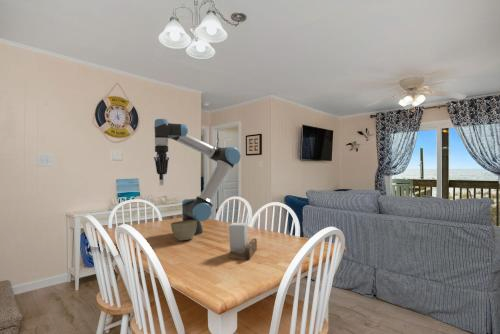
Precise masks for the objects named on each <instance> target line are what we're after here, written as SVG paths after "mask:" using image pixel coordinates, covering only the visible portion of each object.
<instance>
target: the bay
mask: <svg viewBox="0 0 500 334" xmlns="http://www.w3.org/2000/svg"><path fill="white" fill-rule="evenodd" d="M257 241H258V240H257V238H251V240H250V241H248V245H247V246H246V247H245V252H235V251H230V250H229V254H228V255H229V256H228V257H229V260H243V261H249V260H251V258H252V257H253V255H254V254H255V253H256V252H257V247H258V246H257Z"/></svg>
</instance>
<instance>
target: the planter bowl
mask: <svg viewBox="0 0 500 334" xmlns="http://www.w3.org/2000/svg"><path fill="white" fill-rule="evenodd" d="M170 228H171V231H172V234H173V235H174V236H175V238H176V239H177V241H180V242H181V241H188V240H191V239H194V236H195V235H194V234H195V232H196V228H197V220H186V221H183V220H180V221H174V222H172V223H170Z"/></svg>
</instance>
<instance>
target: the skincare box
mask: <svg viewBox="0 0 500 334" xmlns="http://www.w3.org/2000/svg"><path fill="white" fill-rule="evenodd" d="M228 230H229V233H228V234H229V252H230V251H235V252H245V247H246V246H247V245H248V244H249V237H248V236H249V235H248V233H249V231H248V222H232V223H230V224H229V225H228Z"/></svg>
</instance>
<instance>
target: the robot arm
mask: <svg viewBox="0 0 500 334" xmlns="http://www.w3.org/2000/svg"><path fill="white" fill-rule="evenodd" d="M168 121H169V120H168V119H165V118H156V119H154V127H153V128H154V152H155V153H156V156H154V157H153V159H154V164H155V169H156V174H157V175H158V176H159V180H158V181H159V186H166V175H167V173H168V169H169V168H168V166H169V160H170V157H169V156H168V155H167V153H168V152H169V146H168V145H169V139H170V140H174V141H176V142H177V143H180V144H182V145H184V146H186V147H188V148H191V149H192V150H195V151H197V152H199V153H201V154H203V155H205V156H207V158H208V159H210V160H212V161H214V162H217V163H216V167H215V168H214V170H213V172H212V173H211V176H210V177H209V180H208V181H207V182H206V184H205V186H204V188H203V190H202V192H201V193H200V195H198V196H196V198H188V199H187V198H186V199H183V200H182V204H181V206H182V207H181V208H182V210H181V211H182V212H181V213H182V214H181V215H182V221H186V220H197V228H196V232H195V234H194V235H193V236H195V235H199V234H202V233H203V231H204V230H203V229H204V227H203V225H202V223H201V222H205V221H207V220H209V219H210V218H211V215H212V213H213V211H212V207H213V206H214V203H213V200H214V199H215V197H216V195H217V193H218V192H219V190H220V189H221V186H222V184H223V181H224V180H225V178H226V176H227V174H228V173H229V171H231V170H233V168H234V166H235V165H237V164H239V162H241V161H240V160H241V158H242V156H241V155H242V154H241V151H240V150H239V148H237V147H235V146H228V147H227V146H226V147H220V146H216V145H210V144H209V143H207V142H205V141H202V140H200V139H199V138H197V137H195V136H193V135H191V134H188V133H189V128H188V125H187V124H184V123H171V122H168Z"/></svg>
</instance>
